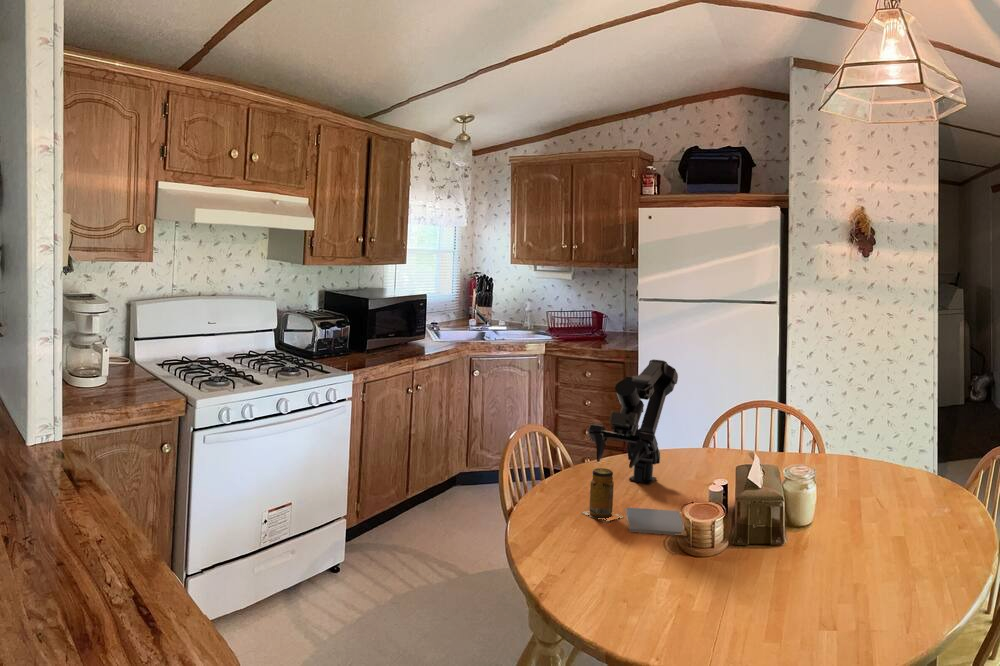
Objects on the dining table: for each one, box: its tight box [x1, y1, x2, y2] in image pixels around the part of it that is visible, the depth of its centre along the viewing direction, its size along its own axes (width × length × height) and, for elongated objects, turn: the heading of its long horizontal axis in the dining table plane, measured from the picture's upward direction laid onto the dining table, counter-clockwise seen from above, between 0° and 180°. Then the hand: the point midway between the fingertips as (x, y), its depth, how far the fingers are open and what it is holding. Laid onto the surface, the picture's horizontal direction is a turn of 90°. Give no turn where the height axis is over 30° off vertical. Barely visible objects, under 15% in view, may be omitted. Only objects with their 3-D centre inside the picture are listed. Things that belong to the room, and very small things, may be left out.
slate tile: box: [625, 506, 684, 536], centre depth 176 cm, size 14×14×1 cm
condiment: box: [582, 467, 624, 524], centre depth 179 cm, size 7×8×12 cm
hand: (613, 464), depth 184 cm, fingers open, 9 cm apart
